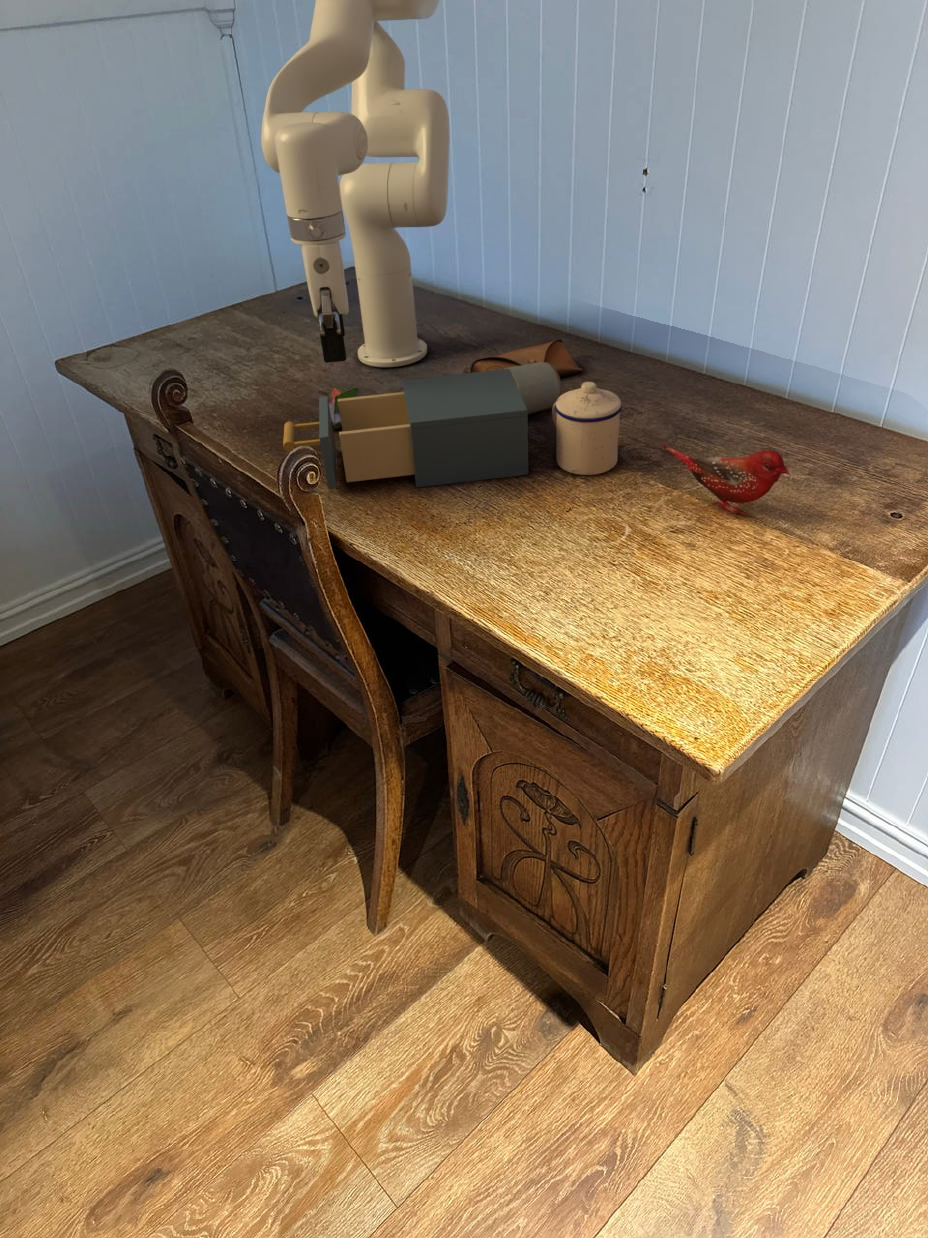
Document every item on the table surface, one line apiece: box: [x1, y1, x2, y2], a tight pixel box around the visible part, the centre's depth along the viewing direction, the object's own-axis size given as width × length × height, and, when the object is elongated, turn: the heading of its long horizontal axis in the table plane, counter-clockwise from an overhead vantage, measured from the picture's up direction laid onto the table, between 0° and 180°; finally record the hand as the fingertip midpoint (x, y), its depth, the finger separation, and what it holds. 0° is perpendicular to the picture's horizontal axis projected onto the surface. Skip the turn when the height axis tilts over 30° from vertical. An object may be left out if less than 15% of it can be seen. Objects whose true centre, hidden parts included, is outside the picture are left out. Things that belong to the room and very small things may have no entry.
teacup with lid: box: [551, 381, 623, 476], centre depth 126 cm, size 12×9×12 cm
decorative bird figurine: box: [661, 444, 790, 517], centre depth 114 cm, size 3×18×10 cm, turn 47°
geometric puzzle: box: [327, 384, 362, 432], centre depth 139 cm, size 7×7×8 cm
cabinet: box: [401, 369, 529, 488], centre depth 128 cm, size 16×14×10 cm
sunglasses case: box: [470, 339, 584, 379], centre depth 152 cm, size 18×7×7 cm
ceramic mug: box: [504, 362, 562, 415], centre depth 141 cm, size 11×8×8 cm
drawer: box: [282, 391, 415, 490], centre depth 127 cm, size 20×13×8 cm, turn 97°
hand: (335, 348), depth 133 cm, fingers open, 9 cm apart
